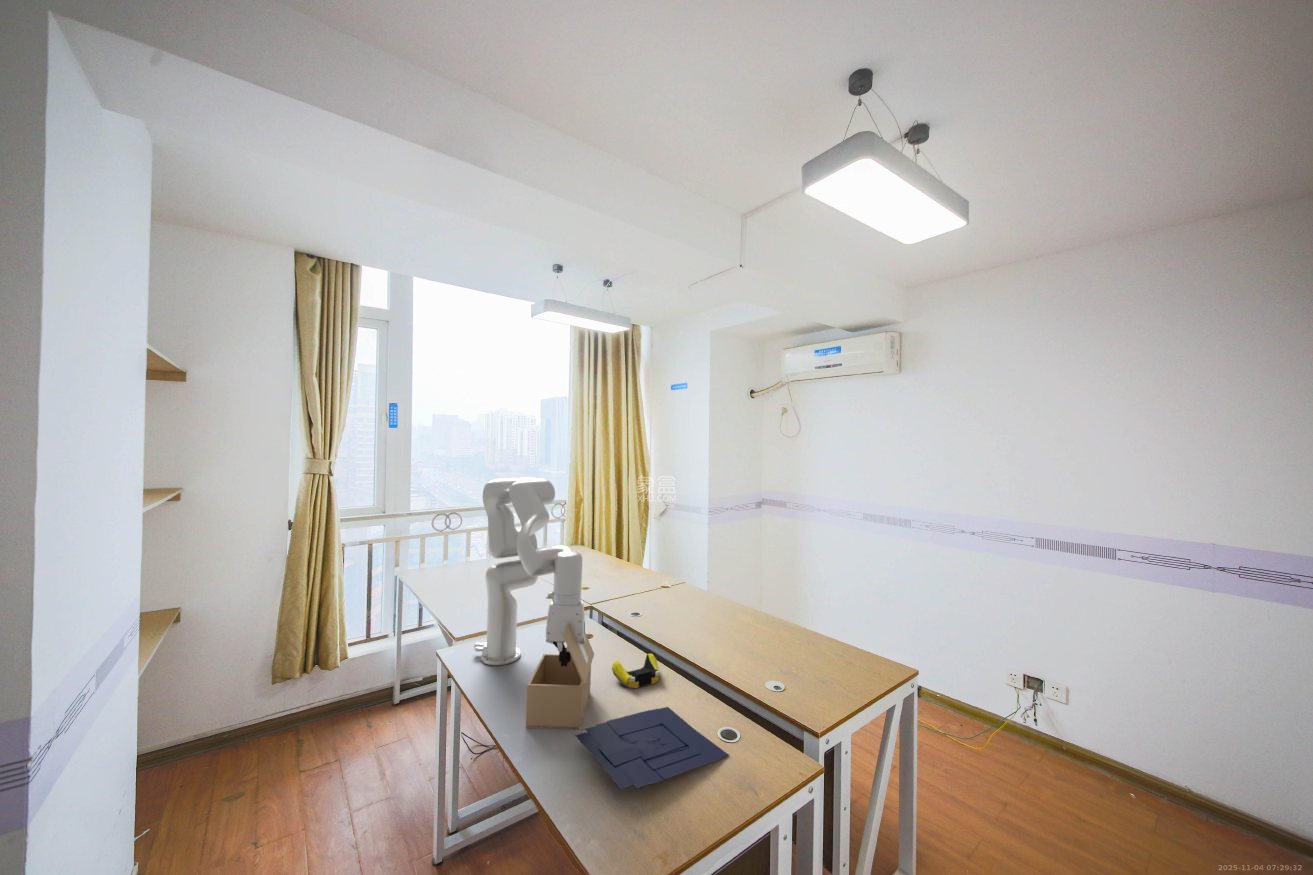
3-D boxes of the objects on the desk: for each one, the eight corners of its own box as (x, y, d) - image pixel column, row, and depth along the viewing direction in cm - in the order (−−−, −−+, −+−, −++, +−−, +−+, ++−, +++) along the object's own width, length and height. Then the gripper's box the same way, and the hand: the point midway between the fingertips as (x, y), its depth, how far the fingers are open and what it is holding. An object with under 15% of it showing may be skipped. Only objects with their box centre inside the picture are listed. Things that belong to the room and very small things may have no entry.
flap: (562, 634, 119) (564, 633, 119) (574, 610, 136) (576, 609, 136) (583, 684, 119) (585, 683, 119) (592, 654, 136) (594, 653, 136)
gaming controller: (609, 677, 145) (623, 693, 136) (610, 660, 145) (623, 674, 136) (651, 667, 152) (667, 682, 143) (652, 650, 152) (667, 664, 143)
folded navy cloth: (569, 742, 112) (571, 726, 112) (665, 716, 130) (667, 702, 130) (624, 809, 92) (626, 790, 93) (728, 767, 110) (730, 751, 111)
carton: (525, 727, 119) (527, 684, 119) (542, 691, 136) (543, 653, 136) (580, 729, 119) (581, 686, 119) (590, 692, 136) (591, 655, 136)
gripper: (536, 601, 123) (533, 669, 124) (592, 603, 123) (589, 672, 123) (543, 591, 131) (541, 656, 131) (596, 593, 131) (593, 658, 131)
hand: (564, 663), depth 127 cm, fingers closed
